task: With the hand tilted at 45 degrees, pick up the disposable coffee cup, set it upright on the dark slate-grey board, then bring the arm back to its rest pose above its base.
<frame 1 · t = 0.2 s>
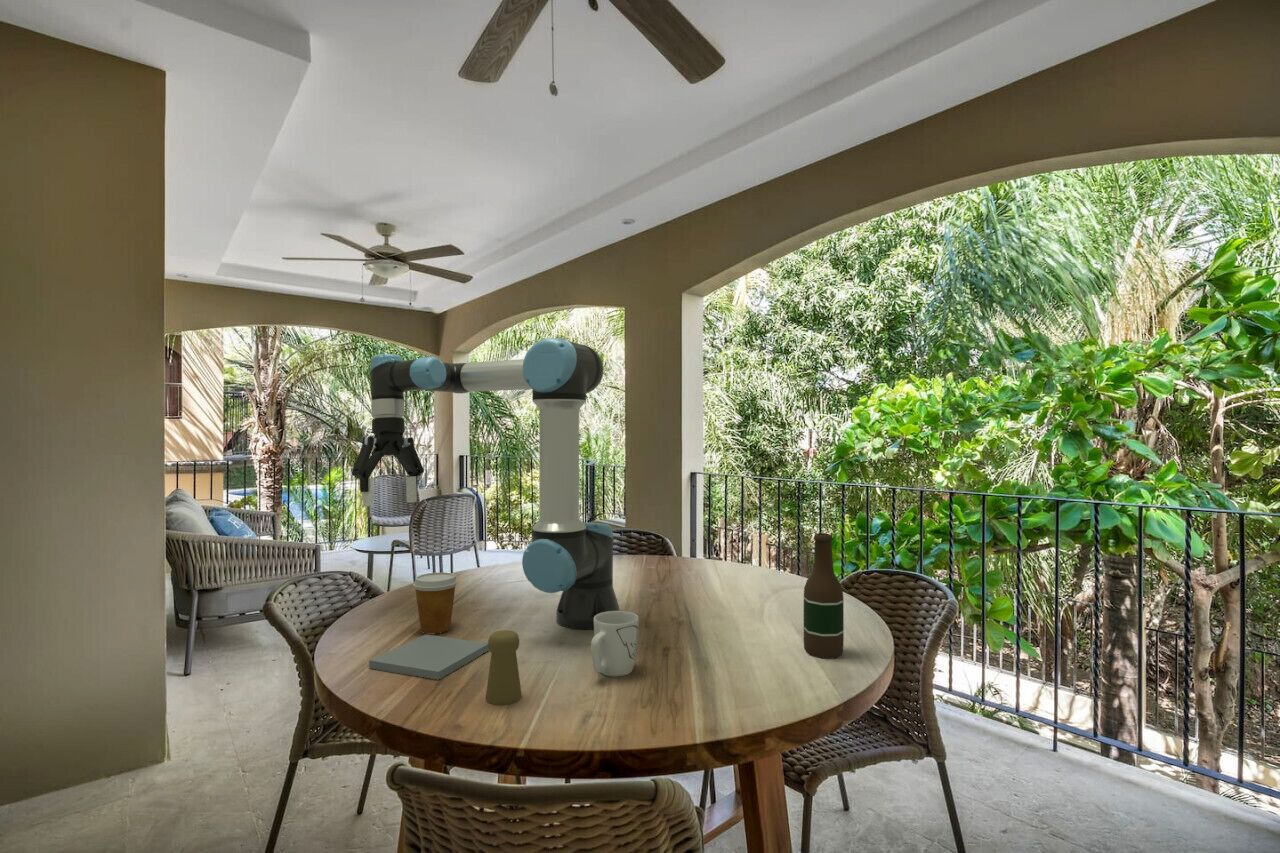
hand: (390, 504, 154), 27 cm above the table, tool pointing down, fingers open, 13 cm apart
olive pawn: (503, 698, 107), on the table
beer bottle: (823, 653, 128), on the table
slate board: (431, 659, 124), on the table
disposable coffee cup: (435, 630, 142), on the table
mug: (611, 674, 117), on the table
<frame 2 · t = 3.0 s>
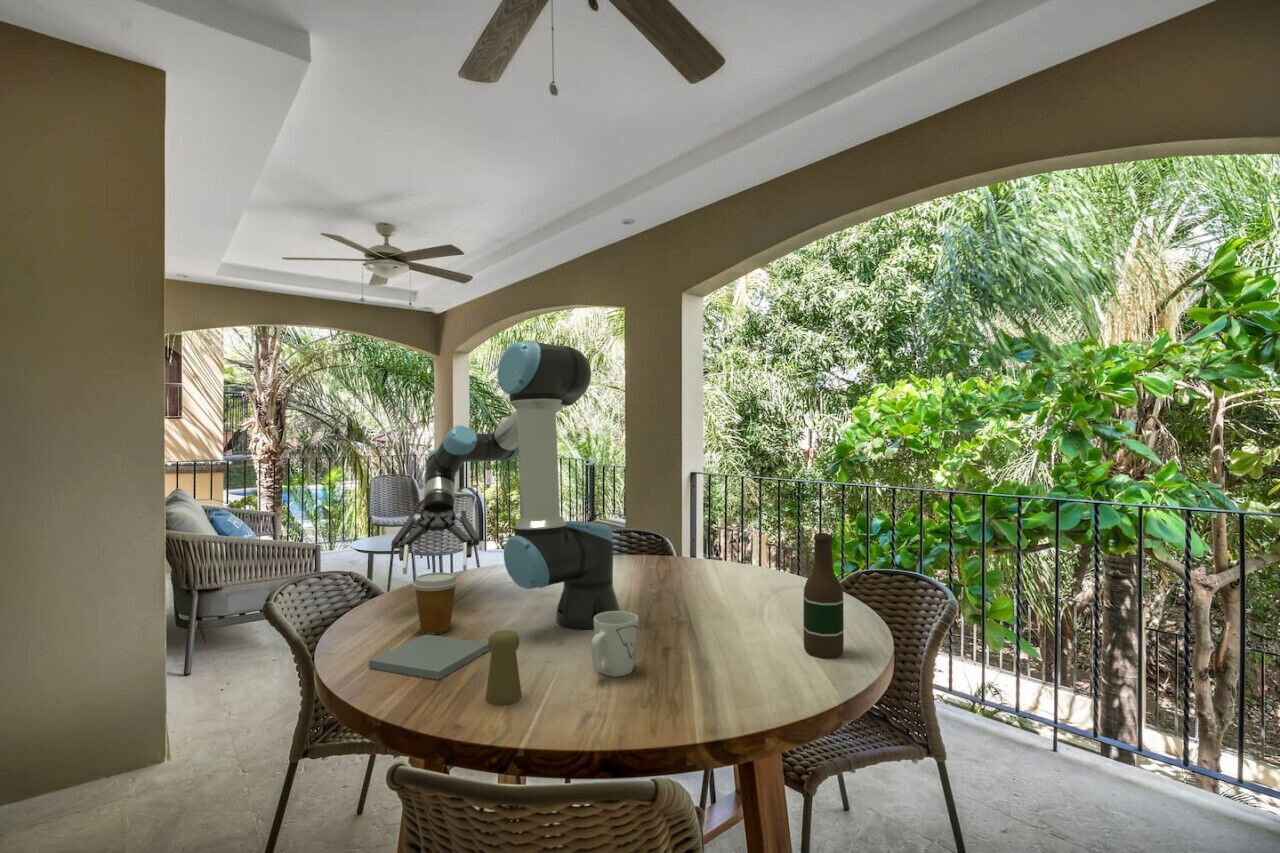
hand: (434, 569, 149), 12 cm above the table, tool tilted 45°, fingers open, 13 cm apart
nothing on the table moved.
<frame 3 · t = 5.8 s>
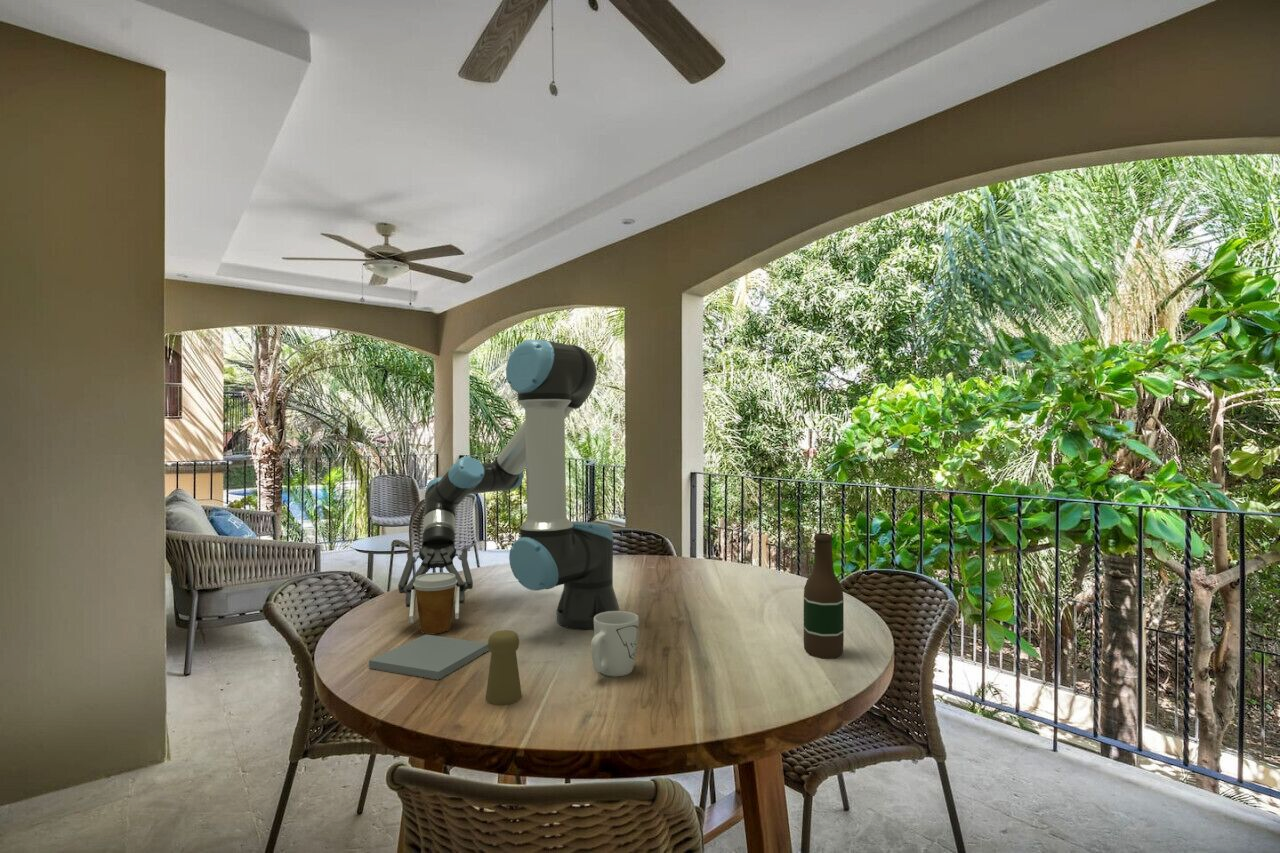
hand: (434, 617, 139), 4 cm above the table, tool tilted 45°, fingers closed on disposable coffee cup, 9 cm apart
disposable coffee cup: (435, 630, 142), on the table, touching gripper
everything else where it was.
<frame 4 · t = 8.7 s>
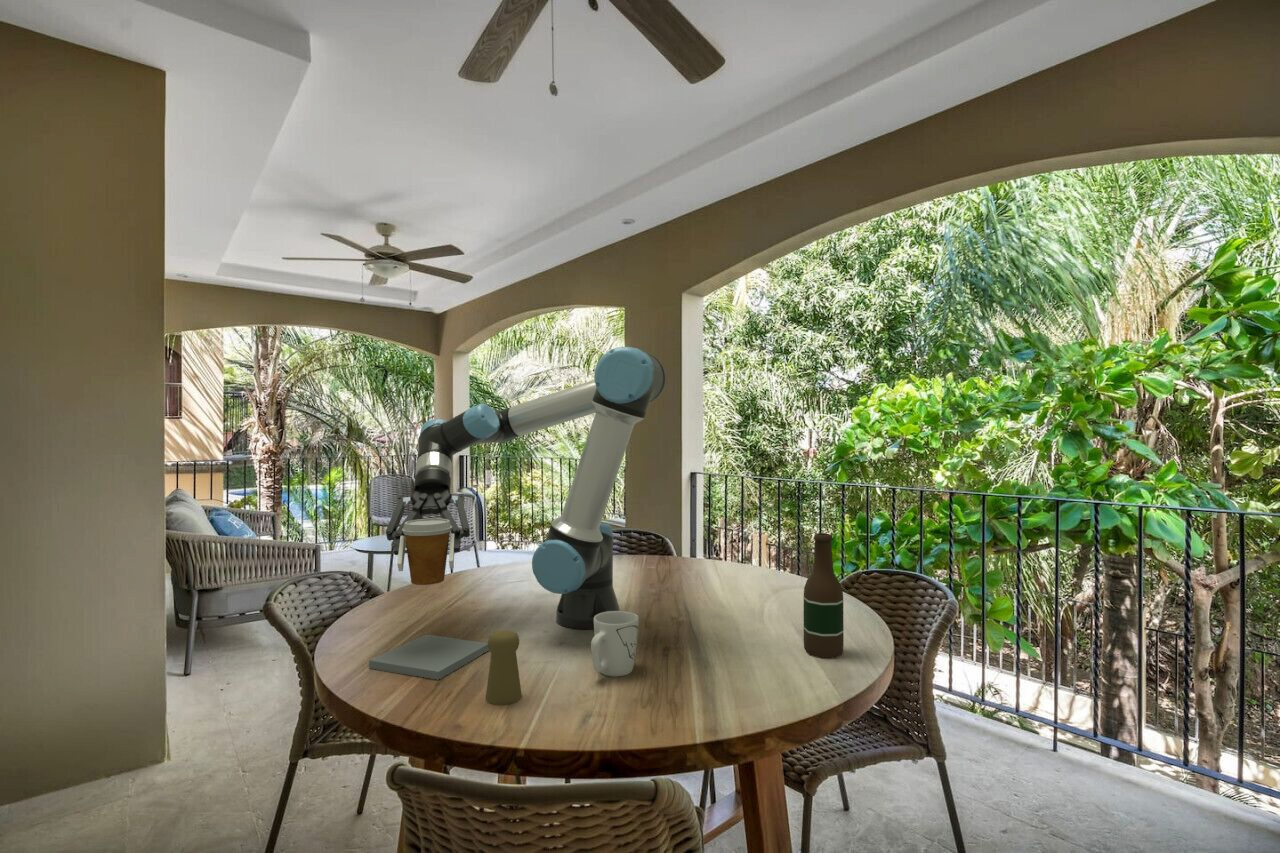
hand: (425, 566, 123), 19 cm above the table, tool tilted 45°, fingers closed on disposable coffee cup, 9 cm apart
disposable coffee cup: (427, 582, 126), point 15 cm above the table, touching gripper
everything else where it was.
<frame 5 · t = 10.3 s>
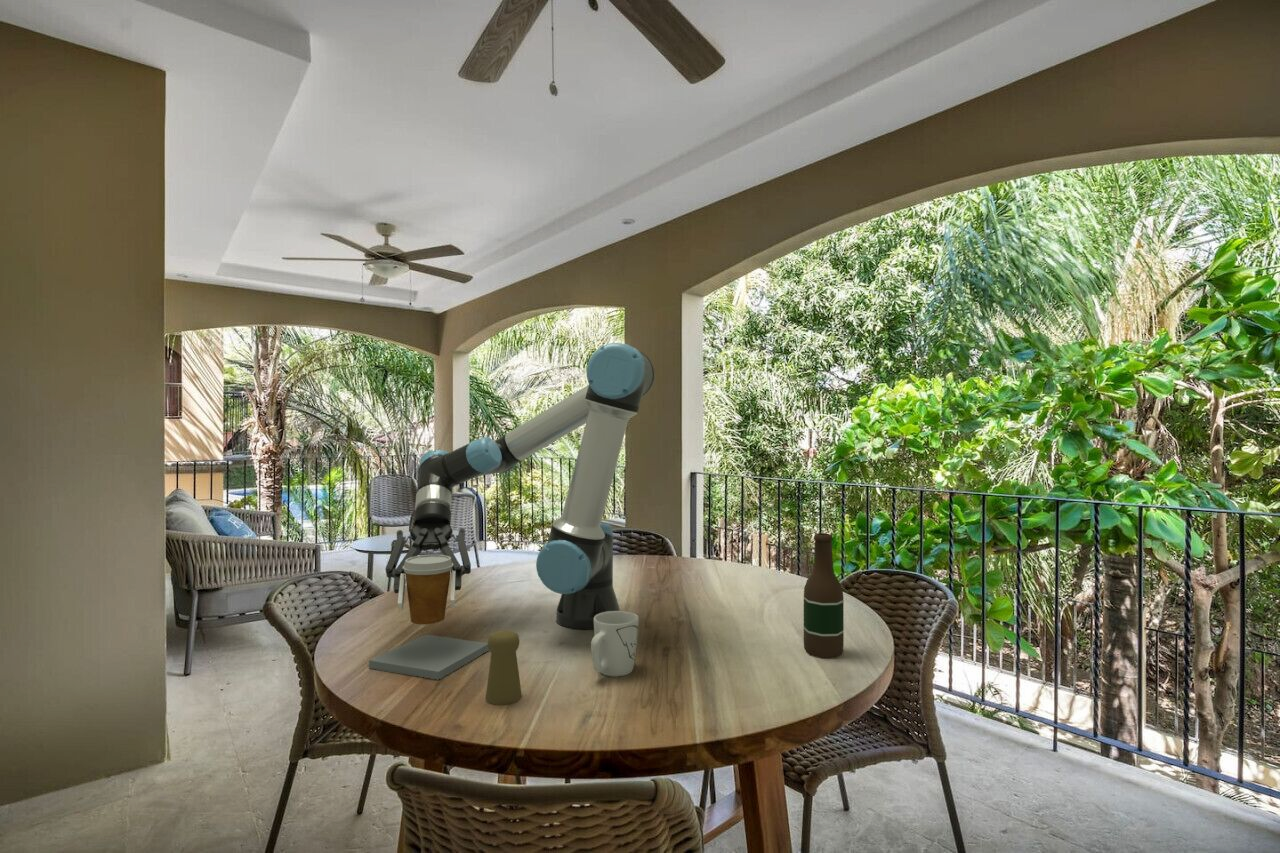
hand: (426, 605, 121), 11 cm above the table, tool tilted 45°, fingers closed on disposable coffee cup, 9 cm apart
disposable coffee cup: (427, 620, 124), point 7 cm above the table, touching gripper
everything else where it was.
when the fingers open (7 cm above the table, at t = 11.7 s): disposable coffee cup drops 1 cm, resting on slate board.
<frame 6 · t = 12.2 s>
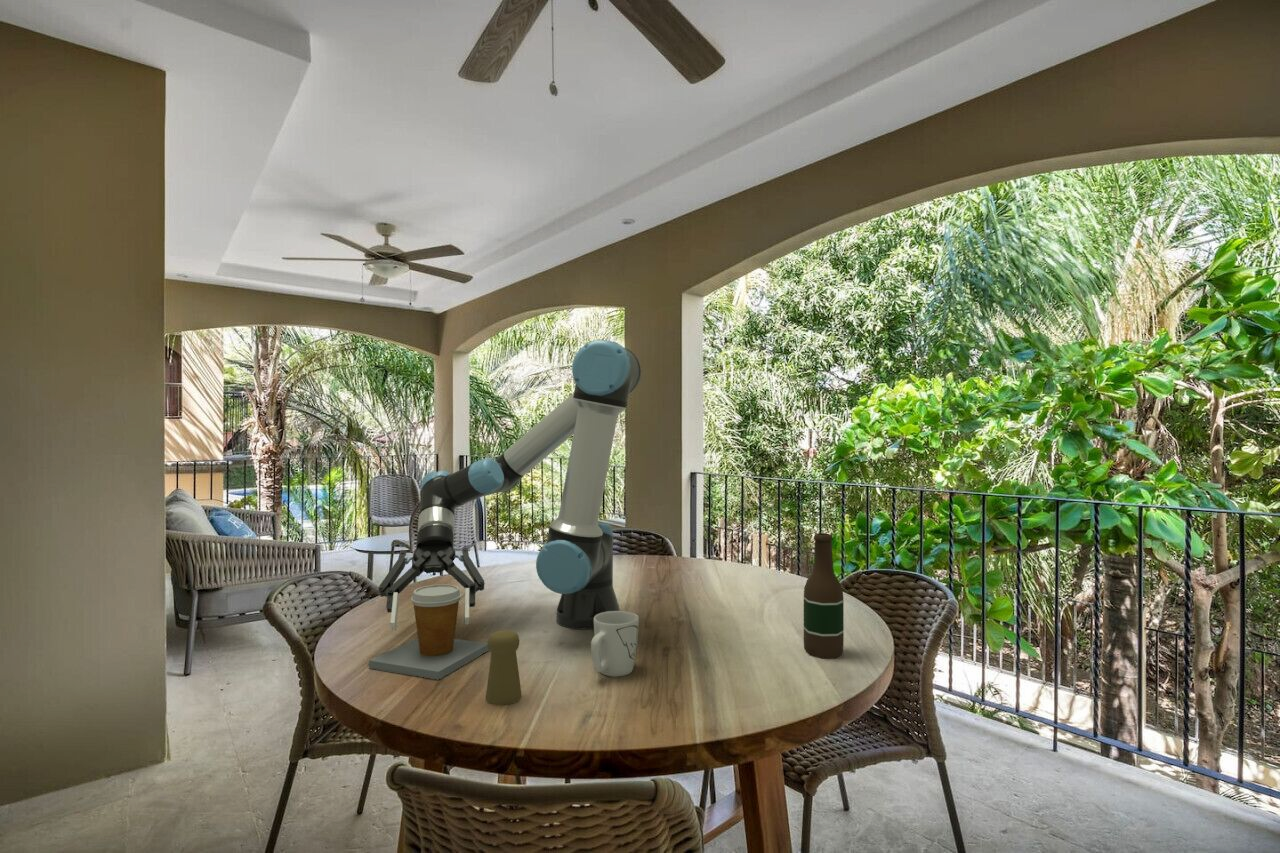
hand: (430, 623, 122), 8 cm above the table, tool tilted 45°, fingers open, 13 cm apart
disposable coffee cup: (436, 651, 124), point 1 cm above the table, touching slate board
everything else where it was.
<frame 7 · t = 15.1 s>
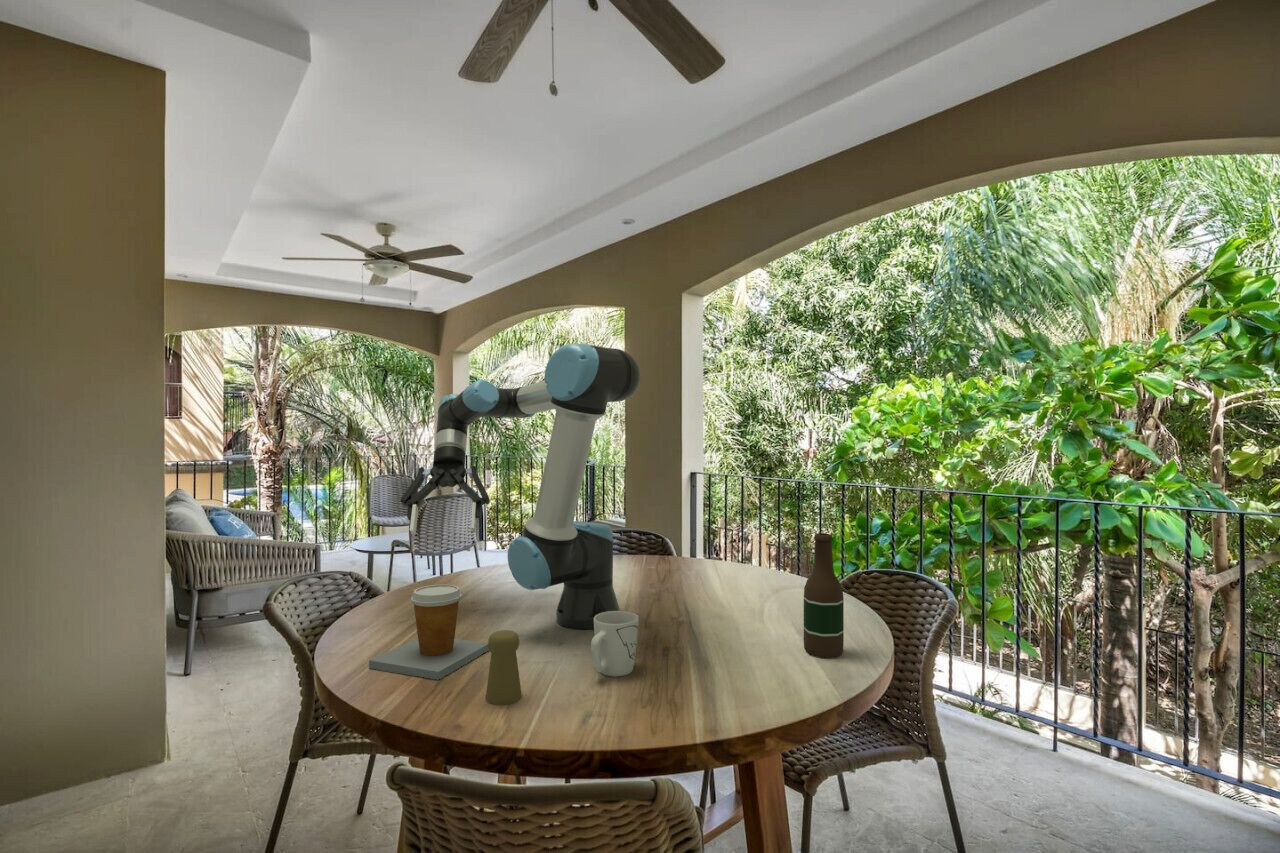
hand: (443, 531, 146), 22 cm above the table, tool tilted 30°, fingers open, 13 cm apart
nothing on the table moved.
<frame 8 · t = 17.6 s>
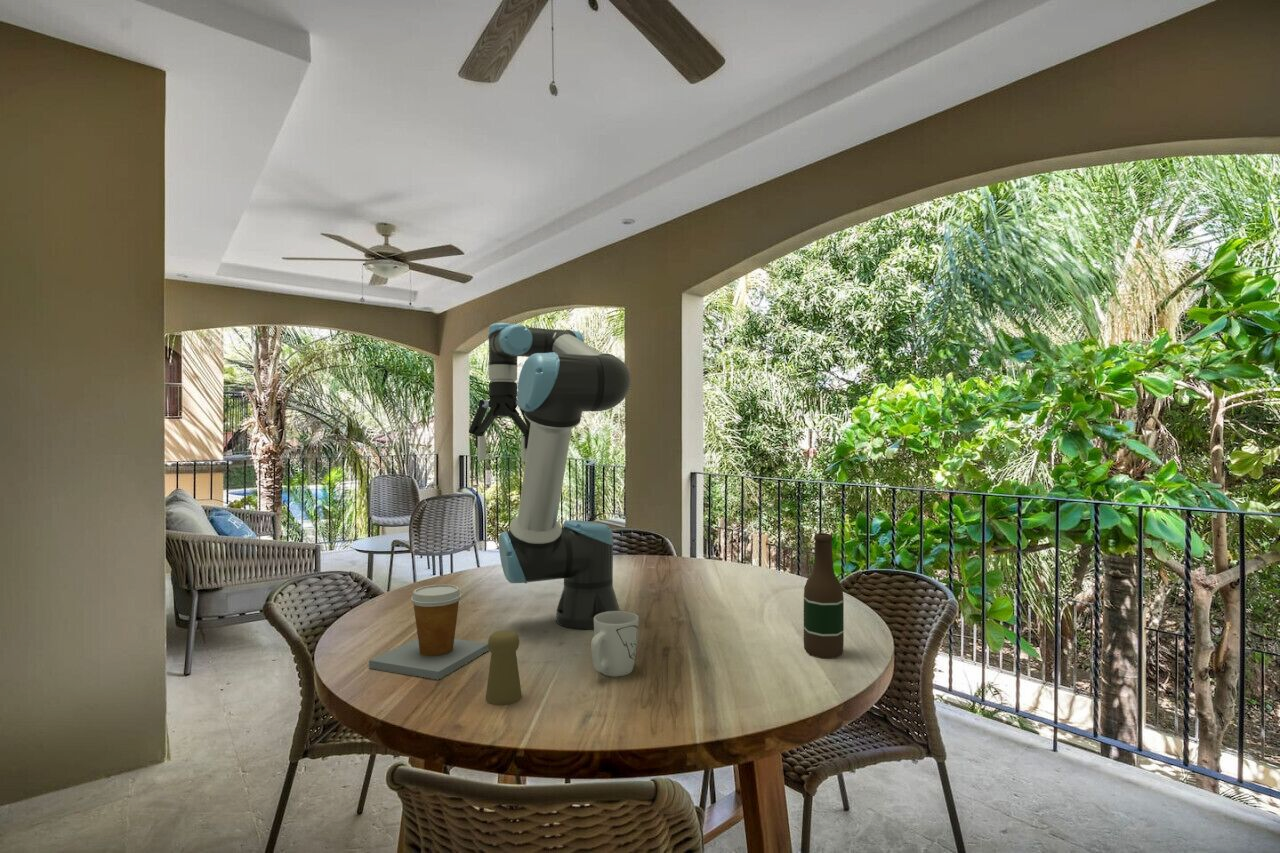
hand: (503, 460, 169), 37 cm above the table, tool pointing down, fingers open, 13 cm apart
nothing on the table moved.
at the end: disposable coffee cup inside the target area on the slate board (1.0 cm from its centre), point 1.3 cm above the slate board's base; disposable coffee cup tilted 0°; the gripper is holding nothing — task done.
